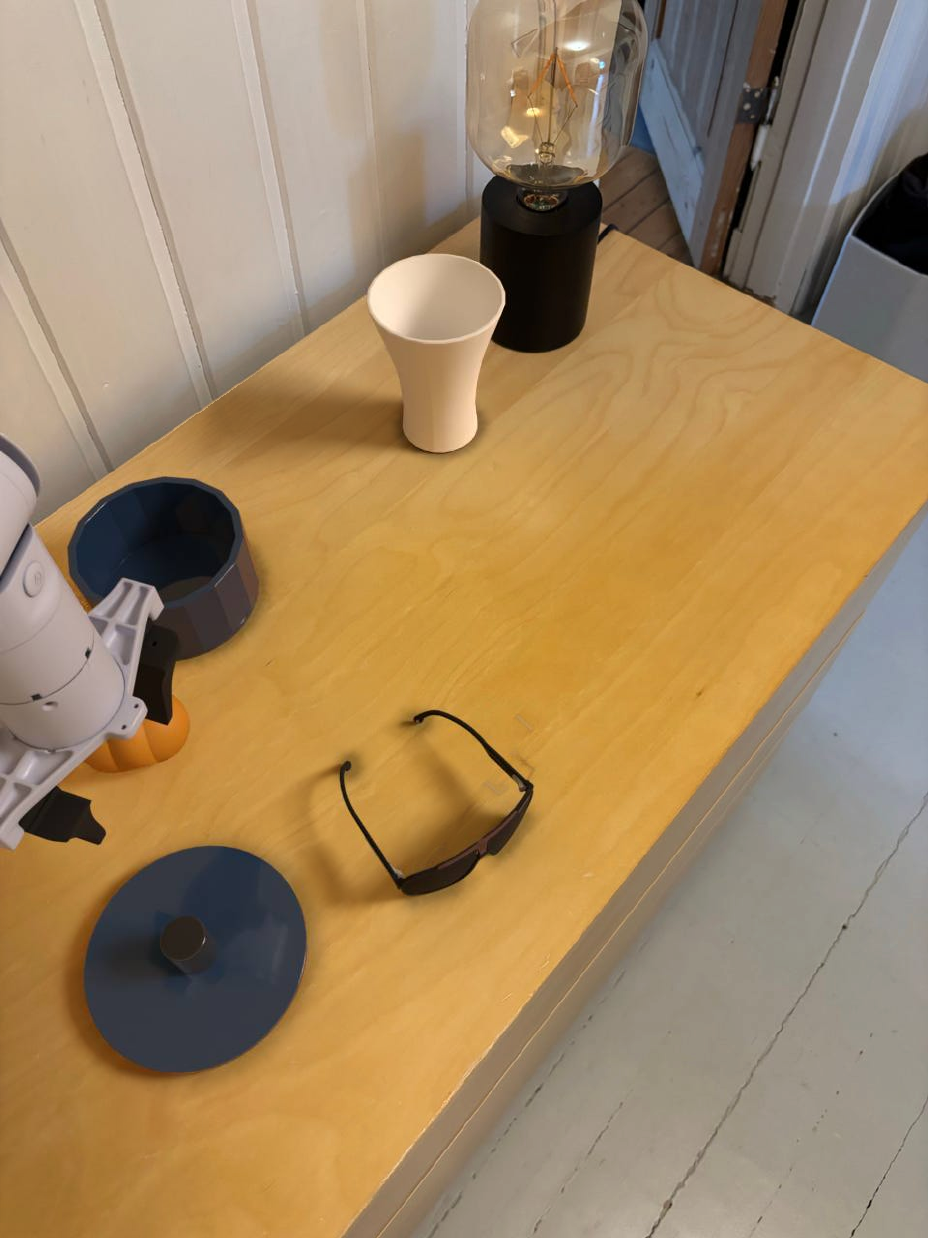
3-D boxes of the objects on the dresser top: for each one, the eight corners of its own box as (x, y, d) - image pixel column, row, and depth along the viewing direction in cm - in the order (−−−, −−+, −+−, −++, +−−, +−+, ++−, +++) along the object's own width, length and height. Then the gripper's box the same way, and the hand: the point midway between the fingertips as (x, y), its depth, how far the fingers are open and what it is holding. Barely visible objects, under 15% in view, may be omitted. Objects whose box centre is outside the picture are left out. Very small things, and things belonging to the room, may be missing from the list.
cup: (507, 390, 84) (513, 259, 73) (491, 477, 78) (495, 349, 67) (392, 378, 85) (381, 247, 74) (369, 463, 79) (352, 335, 68)
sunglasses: (419, 929, 58) (409, 896, 54) (321, 794, 64) (305, 757, 60) (551, 830, 61) (550, 793, 57) (444, 712, 68) (437, 672, 64)
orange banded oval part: (93, 790, 63) (67, 770, 59) (84, 722, 65) (59, 698, 61) (202, 762, 65) (185, 740, 60) (190, 696, 66) (173, 670, 62)
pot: (104, 679, 68) (72, 631, 62) (92, 550, 74) (63, 496, 69) (271, 639, 70) (255, 588, 64) (245, 517, 76) (228, 462, 71)
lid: (98, 1107, 53) (71, 1097, 49) (82, 883, 60) (58, 861, 56) (328, 1035, 55) (319, 1021, 51) (287, 827, 62) (276, 802, 58)
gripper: (14, 821, 38) (119, 917, 49) (185, 549, 45) (241, 687, 57) (-132, 770, 39) (3, 875, 50) (57, 514, 46) (138, 655, 58)
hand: (122, 773), depth 54 cm, fingers open, 7 cm apart
